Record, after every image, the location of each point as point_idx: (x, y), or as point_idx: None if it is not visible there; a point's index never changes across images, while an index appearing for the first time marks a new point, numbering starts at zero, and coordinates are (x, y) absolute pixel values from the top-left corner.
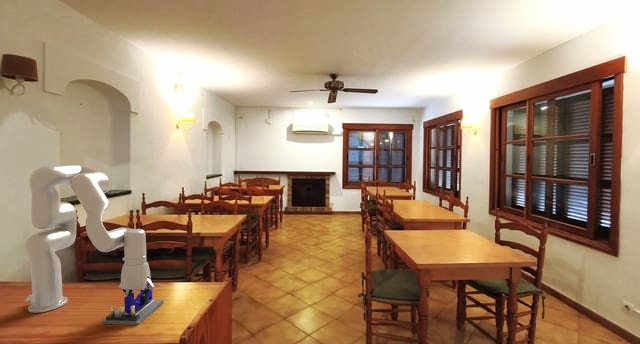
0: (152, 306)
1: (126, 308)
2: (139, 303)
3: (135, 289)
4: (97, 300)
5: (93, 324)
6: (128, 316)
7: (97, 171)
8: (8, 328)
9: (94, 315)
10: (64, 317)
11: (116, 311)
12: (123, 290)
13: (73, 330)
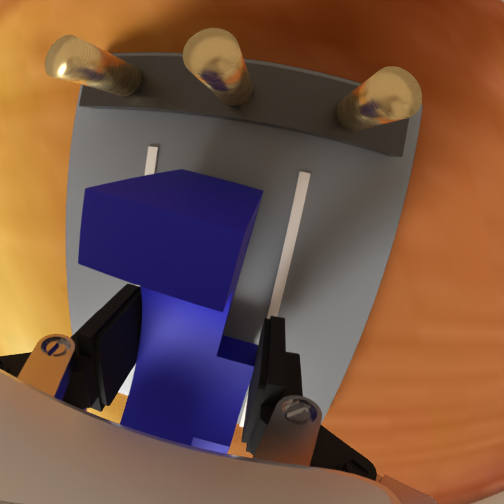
0: (93, 307)
1: (233, 188)
2: (142, 297)
3: (52, 402)
4: (492, 421)
5: (467, 118)
6: (168, 75)
7: None
8: None
9: (501, 263)
10: None
11: (373, 264)
12: (359, 464)
13: None
